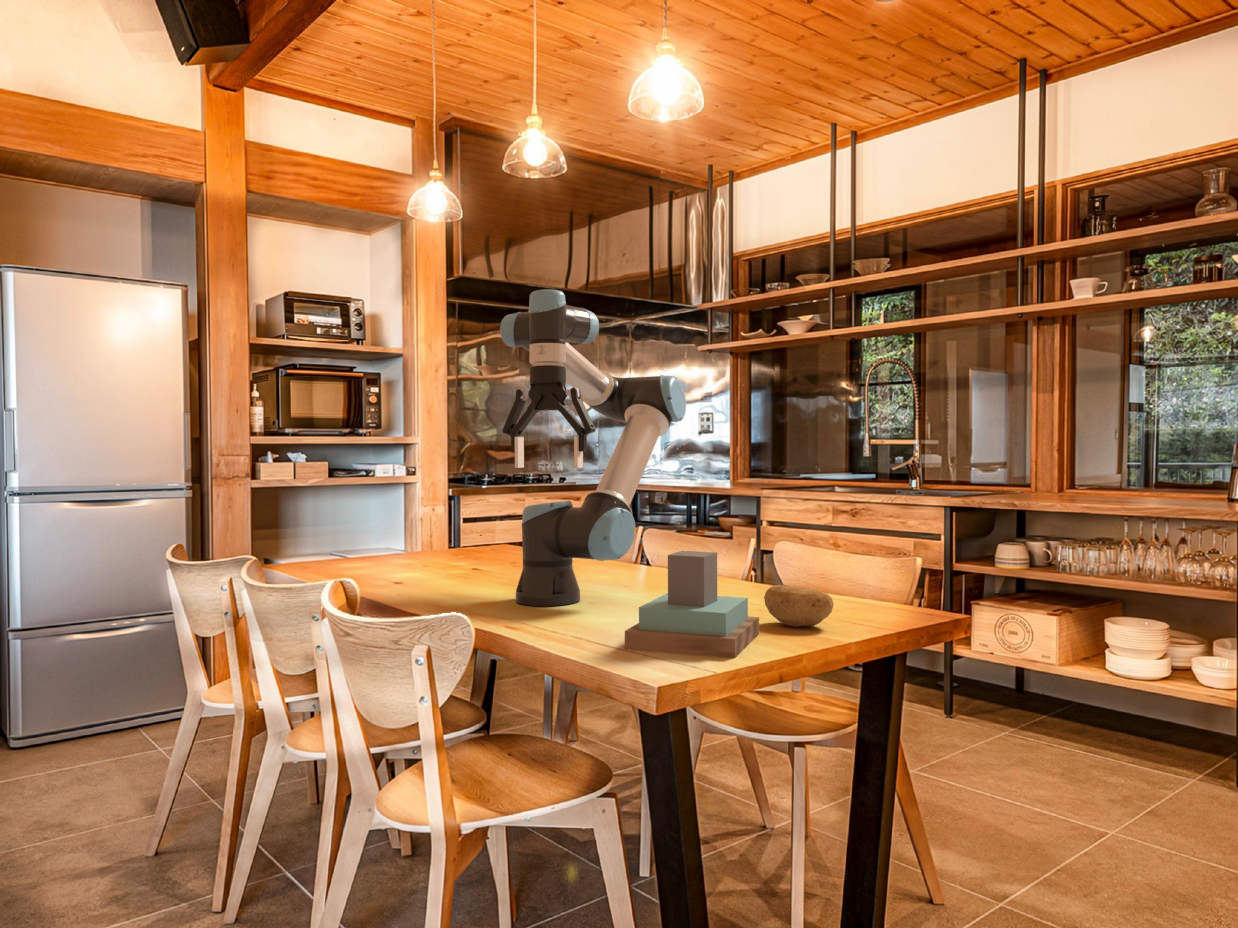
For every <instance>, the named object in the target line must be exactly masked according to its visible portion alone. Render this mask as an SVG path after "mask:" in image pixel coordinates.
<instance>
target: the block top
mask: <svg viewBox="0 0 1238 928" xmlns="http://www.w3.org/2000/svg"><path fill="white" fill-rule="evenodd" d="M748 599H749V598H748V597H739V596H723V595H722V596H721V595H717V601H716V602H714V603H712V604H710V605H708V606H706V607H696V606H684V605H671V604H668V592H667V593H664V594H663V595H660V596H659V597H657V598H654V599H653V600H651V601H648V602H647V603H644V604H643V605H640V606H639V607H638V623H639V630H651V631H664V632H677V633H690V634H703V635H716V636H727V635H728V634H729V633H731V632H732V631H733V630H734V629H736V628H737V627H738V626H739V625H741V624H742V623H743V622H745V621H746V620H747V619H748V616H749V615H748V613H749V611H748V610H749V607H748V606H749V603H748V602H749V600H748Z"/></svg>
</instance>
